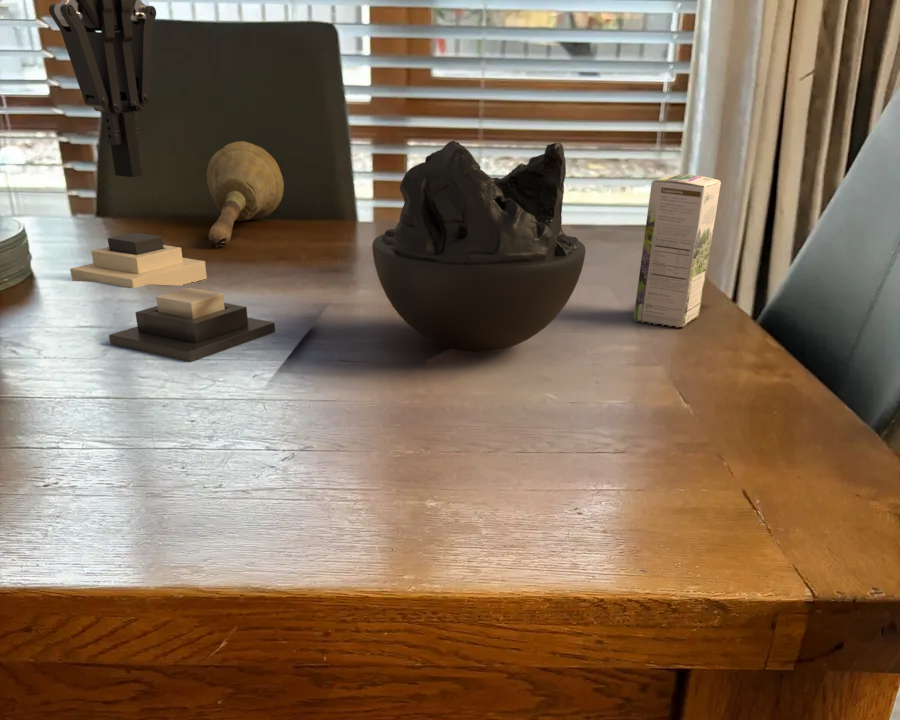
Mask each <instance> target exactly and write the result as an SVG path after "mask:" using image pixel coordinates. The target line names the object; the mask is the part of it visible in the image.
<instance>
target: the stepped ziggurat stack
mask: <svg viewBox="0 0 900 720" xmlns="http://www.w3.org/2000/svg"><path fill="white" fill-rule="evenodd" d="M163 248H164V249H161V250H157V251H153V252H148V253H144V254H139V255H132V254H126V253H120V252H114V251H110V250H109V246H107V247H102V248H101V247H100V248H96V249H92V250H90V251H91V257H92V261H93V262H92V263H88V264H84V265H79V266H75V267H71V268H69V270H70V277H71V281H72V282H82V283H83V282H85V283H104V284H108V285H109V284H110V285H113V286H114V285H115V286H120V287H125V288H130V289H135V288H139V287H143V286H146V285H158V286H159V285H160V286H161V285H163V286H183V284H187V283H191V282H196V281H199V280H203V279H206V278H207V279H208V277H207V268H206V261H205V260H201V259H194V258H187V257H183V250H182V247H179V246H173V245H168V244H167V245H166V244H163ZM207 279H206V280H207ZM203 281H204V280H203ZM199 282H200V281H199ZM196 283H197V282H196Z"/></svg>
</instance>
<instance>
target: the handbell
mask: <svg viewBox="0 0 900 720" xmlns="http://www.w3.org/2000/svg"><path fill="white" fill-rule="evenodd" d="M206 183H207V184H206V185H207V188H208V191H209V195H210V196H211V197H212V199H213V201H214V204H215V206H216V207H217V210H218V211H219V212H220V216H219V217H218V218H217V220H216V221H215V223H213V224H212V225H211V227H210V230H209V232H208V240H209V243H210V245H212V246H213V247H214V246H220V245H226V246H227V245H228V243H229V242H230V240H231V239H232V232H233V227H234V223H235V222H236V221H237V222H245V221H256V220H261V219H265V218H267V217H268V216H270V215H271V214H272V213H273V212H274V211H275V210H276V209H277V208H278V207H279V205H280V203H281V202H282V199H283V196H284V190H285V185H284V184H285V182H284V177H283V175H282V172H281V168H280V166H279V164H278V163H277V161H276V159H275V158H274V157H273V156H272V155H271V154H270V153H269V152H268V151H266V149H264V148H263V147H261V146H258V145H256V144H253V143H252V142H248V141H243V140H241V141H240V140H239V141H234V142H230V143H227V145H224V146H223V147H222V148H220V149H219V150H218V151H216V152H215V153H214V154H213V155H212V156H211V158H209V162H208V165H207V169H206Z"/></svg>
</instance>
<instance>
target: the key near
mask: <svg viewBox="0 0 900 720" xmlns="http://www.w3.org/2000/svg"><path fill="white" fill-rule="evenodd" d="M155 298H156V306H157V307H158V312H160V313H165V314H170V315H175V316H180V317H185V318H190V319H195V318H198V317H201V316H204V315H208V314H211V313H214V312H217V311H220V310H224V309H225V306H224V303H225V297H224V293H222V292H215V291H210V290H204V289H199V288H194V287H185V288H182V289H179V290H174V291H171V292H169V293H168V292H167V293H164V294H160V295H158V296H156V297H155Z"/></svg>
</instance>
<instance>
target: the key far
mask: <svg viewBox="0 0 900 720" xmlns="http://www.w3.org/2000/svg"><path fill="white" fill-rule="evenodd" d="M107 242H108V247H109V250H110V251H114V252H120V253H126V254H132V255H139V254H144V253H148V252H153V251H157V250H161V249H164V248H163V245H164V239H163V236H161V235H155V234H148V233H142V232H131V233H126V234H122V235H117V236H110V237H108V238H107Z"/></svg>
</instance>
